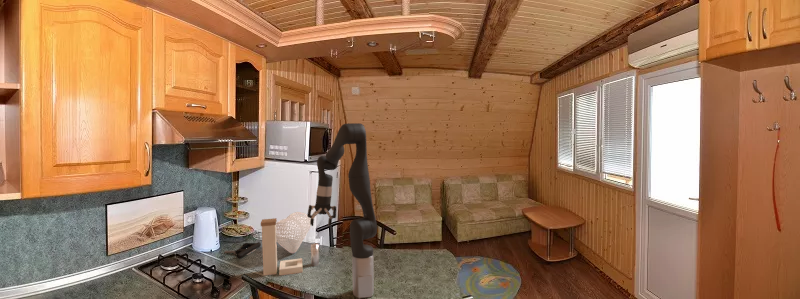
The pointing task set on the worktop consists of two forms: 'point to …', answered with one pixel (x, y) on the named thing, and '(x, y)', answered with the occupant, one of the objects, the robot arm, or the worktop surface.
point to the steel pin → (314, 254)
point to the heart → (290, 218)
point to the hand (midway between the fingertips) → (320, 225)
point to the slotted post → (275, 252)
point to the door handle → (243, 250)
